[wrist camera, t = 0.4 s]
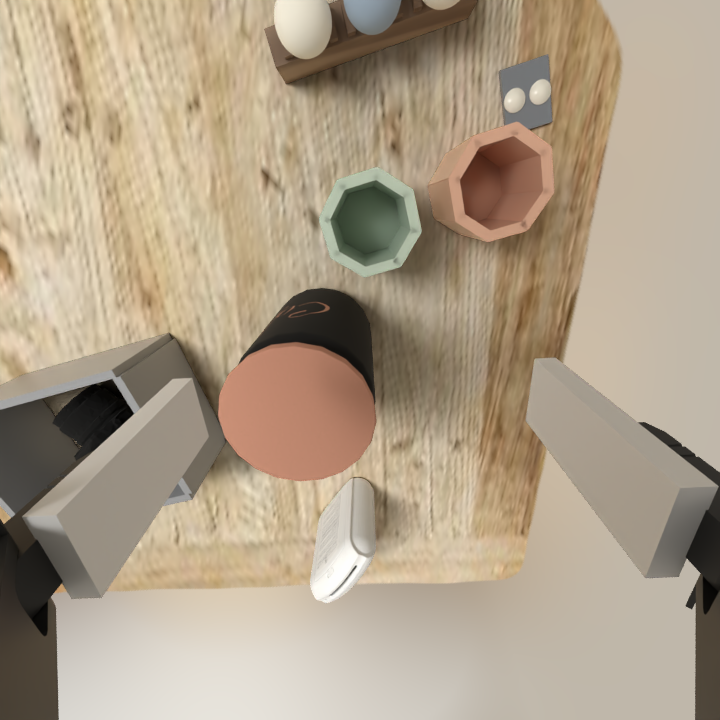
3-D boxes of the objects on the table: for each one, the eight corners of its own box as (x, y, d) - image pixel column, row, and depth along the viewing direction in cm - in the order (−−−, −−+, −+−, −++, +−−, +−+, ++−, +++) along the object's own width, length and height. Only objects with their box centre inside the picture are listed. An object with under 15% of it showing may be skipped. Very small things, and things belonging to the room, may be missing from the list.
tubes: (305, 137, 33) (286, 114, 24) (546, 55, 30) (615, -2, 22) (344, 267, 37) (338, 284, 29) (555, 206, 35) (615, 205, 26)
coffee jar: (335, 265, 37) (313, 312, 21) (388, 344, 41) (406, 438, 24) (257, 320, 40) (182, 400, 23) (314, 390, 43) (284, 503, 27)
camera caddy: (18, 375, 43) (-77, 422, 33) (171, 331, 40) (115, 368, 31) (91, 474, 49) (28, 536, 39) (228, 440, 46) (195, 498, 37)
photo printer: (340, 529, 52) (334, 619, 41) (315, 518, 52) (301, 606, 40) (378, 484, 49) (383, 568, 38) (351, 471, 48) (348, 552, 37)
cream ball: (272, 10, 26) (257, -22, 22) (324, -10, 25) (317, -46, 22) (291, 75, 27) (280, 55, 24) (340, 57, 27) (337, 33, 23)
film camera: (129, 346, 41) (71, 380, 33) (198, 397, 44) (160, 442, 36) (67, 423, 45) (2, 470, 37) (134, 466, 48) (86, 519, 40)
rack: (276, 50, 30) (262, 25, 26) (463, -20, 28) (480, -60, 24) (286, 84, 31) (274, 64, 27) (468, 18, 29) (485, -14, 25)
